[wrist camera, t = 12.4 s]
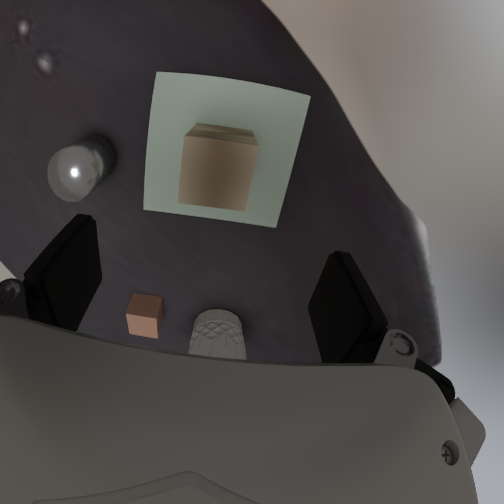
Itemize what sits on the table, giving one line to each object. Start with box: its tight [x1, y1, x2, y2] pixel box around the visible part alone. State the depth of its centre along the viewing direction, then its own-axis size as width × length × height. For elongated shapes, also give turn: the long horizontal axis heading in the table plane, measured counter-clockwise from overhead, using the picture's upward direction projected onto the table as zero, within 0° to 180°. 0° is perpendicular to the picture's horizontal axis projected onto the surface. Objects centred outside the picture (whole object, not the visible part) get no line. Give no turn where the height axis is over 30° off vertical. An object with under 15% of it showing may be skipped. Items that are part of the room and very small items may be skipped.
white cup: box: [188, 309, 247, 360], centre depth 34 cm, size 8×8×10 cm
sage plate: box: [144, 72, 311, 228], centre depth 25 cm, size 14×14×1 cm
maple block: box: [178, 123, 259, 212], centre depth 21 cm, size 5×5×7 cm
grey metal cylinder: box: [47, 134, 117, 202], centre depth 22 cm, size 5×5×6 cm
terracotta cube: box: [126, 293, 163, 338], centre depth 34 cm, size 4×4×4 cm
